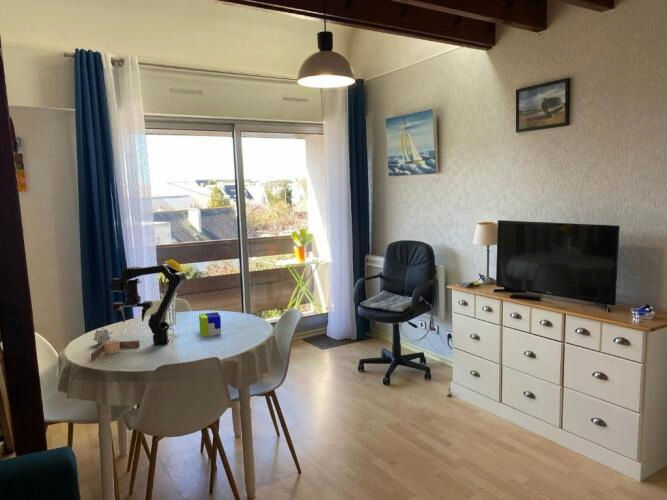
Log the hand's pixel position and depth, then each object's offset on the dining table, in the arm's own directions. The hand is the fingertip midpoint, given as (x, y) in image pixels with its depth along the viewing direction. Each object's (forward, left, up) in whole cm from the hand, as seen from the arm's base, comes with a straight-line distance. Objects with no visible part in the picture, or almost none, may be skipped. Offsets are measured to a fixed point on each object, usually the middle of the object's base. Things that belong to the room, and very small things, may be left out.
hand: (133, 321), depth 256 cm
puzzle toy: (-37, -11, -11) cm, 40 cm away
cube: (+7, +15, -11) cm, 19 cm away
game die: (+16, -1, -11) cm, 20 cm away
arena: (+4, +16, -11) cm, 20 cm away
